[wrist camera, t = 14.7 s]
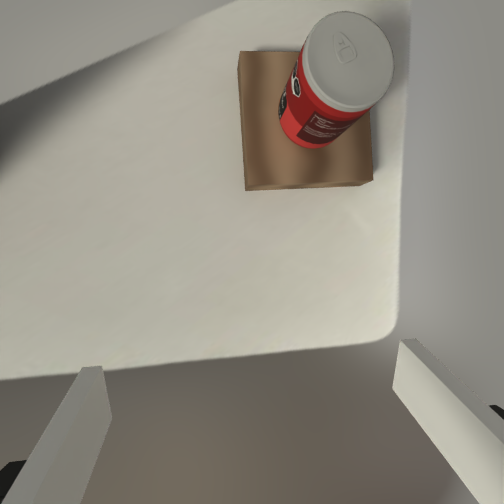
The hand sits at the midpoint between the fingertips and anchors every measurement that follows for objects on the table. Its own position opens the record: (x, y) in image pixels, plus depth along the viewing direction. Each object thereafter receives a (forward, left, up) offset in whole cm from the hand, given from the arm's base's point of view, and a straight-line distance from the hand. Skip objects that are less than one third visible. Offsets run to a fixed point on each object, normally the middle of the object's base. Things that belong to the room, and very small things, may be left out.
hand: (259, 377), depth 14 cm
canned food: (+10, +20, -22) cm, 31 cm away
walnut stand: (+10, +20, -25) cm, 34 cm away
